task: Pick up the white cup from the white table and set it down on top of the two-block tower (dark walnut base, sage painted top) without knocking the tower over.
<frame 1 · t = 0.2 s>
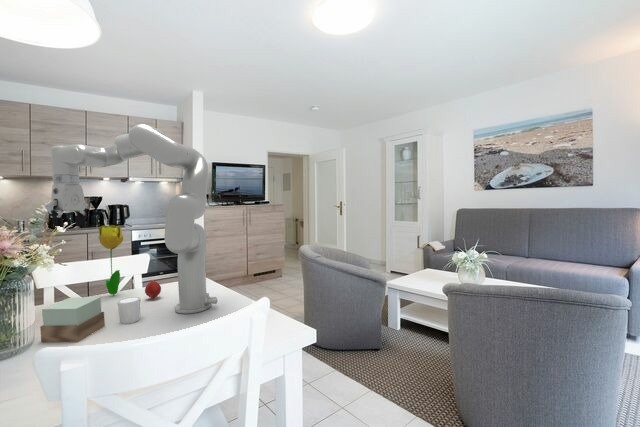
hand: (69, 227, 117), 31 cm above the table, tool pointing down, fingers open, 9 cm apart
tower top block: (73, 318, 97), point 5 cm above the table, touching tower base block
flower: (114, 296, 134), on the table
white cup: (130, 320, 107), on the table
onion: (153, 299, 129), on the table
tower base block: (74, 334, 98), on the table, touching tower top block
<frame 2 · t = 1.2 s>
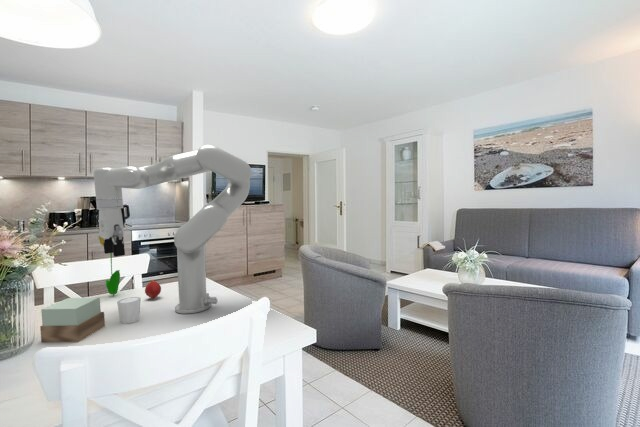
hand: (114, 254, 109), 22 cm above the table, tool pointing down, fingers open, 9 cm apart
nothing on the table moved.
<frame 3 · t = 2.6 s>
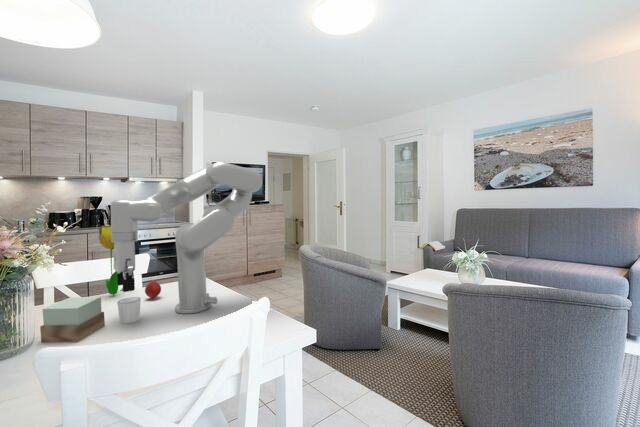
hand: (125, 287, 106), 11 cm above the table, tool pointing down, fingers open, 9 cm apart
nothing on the table moved.
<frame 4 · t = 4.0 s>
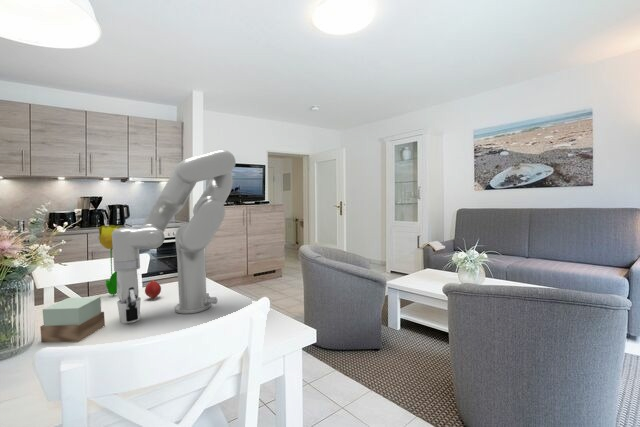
hand: (129, 316, 107), 1 cm above the table, tool pointing down, fingers closed on white cup, 6 cm apart
white cup: (130, 320, 107), on the table, touching gripper
everything else where it was.
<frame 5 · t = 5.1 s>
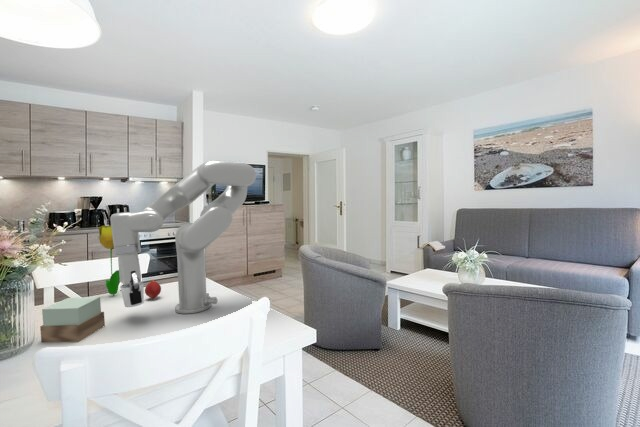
hand: (134, 300, 108), 6 cm above the table, tool pointing down, fingers closed on white cup, 6 cm apart
white cup: (134, 304, 108), point 5 cm above the table, touching gripper
everything else where it was.
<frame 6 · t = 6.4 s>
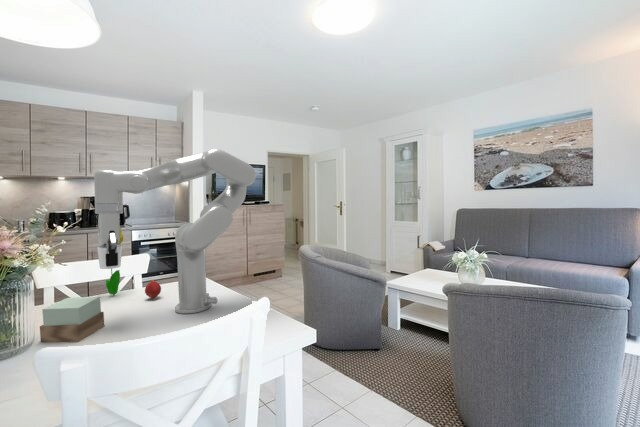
hand: (110, 263, 103), 20 cm above the table, tool pointing down, fingers closed on white cup, 6 cm apart
white cup: (110, 267, 103), point 19 cm above the table, touching gripper
everything else where it was.
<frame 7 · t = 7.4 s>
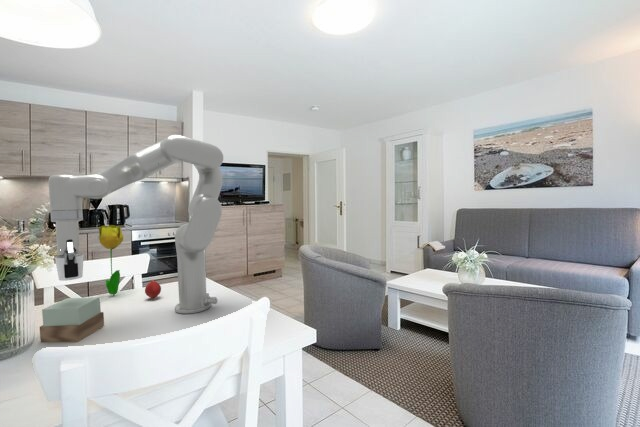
hand: (70, 274, 96), 18 cm above the table, tool pointing down, fingers closed on white cup, 6 cm apart
white cup: (71, 278, 96), point 17 cm above the table, touching gripper
everything else where it was.
when the fingers open (12 cm above the table, at t = 8.8 s): white cup drops 1 cm, resting on tower top block.
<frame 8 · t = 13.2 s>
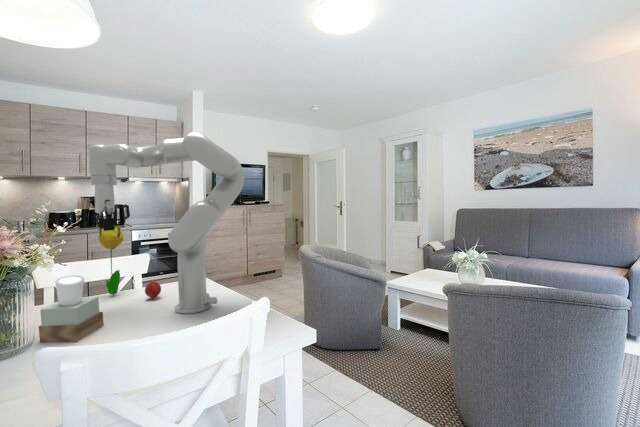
hand: (107, 229, 113), 30 cm above the table, tool pointing down, fingers open, 9 cm apart
tower top block: (72, 318, 97), point 5 cm above the table, touching white cup, tower base block
white cup: (70, 301, 97), point 10 cm above the table, touching tower top block
everything else where it was.
at the end: white cup 0.1 cm off-centre on the tower top block, point 5.0 cm above the tower top block's base; tower top block moved 0.6 cm from its start; white cup tilted 4° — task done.
